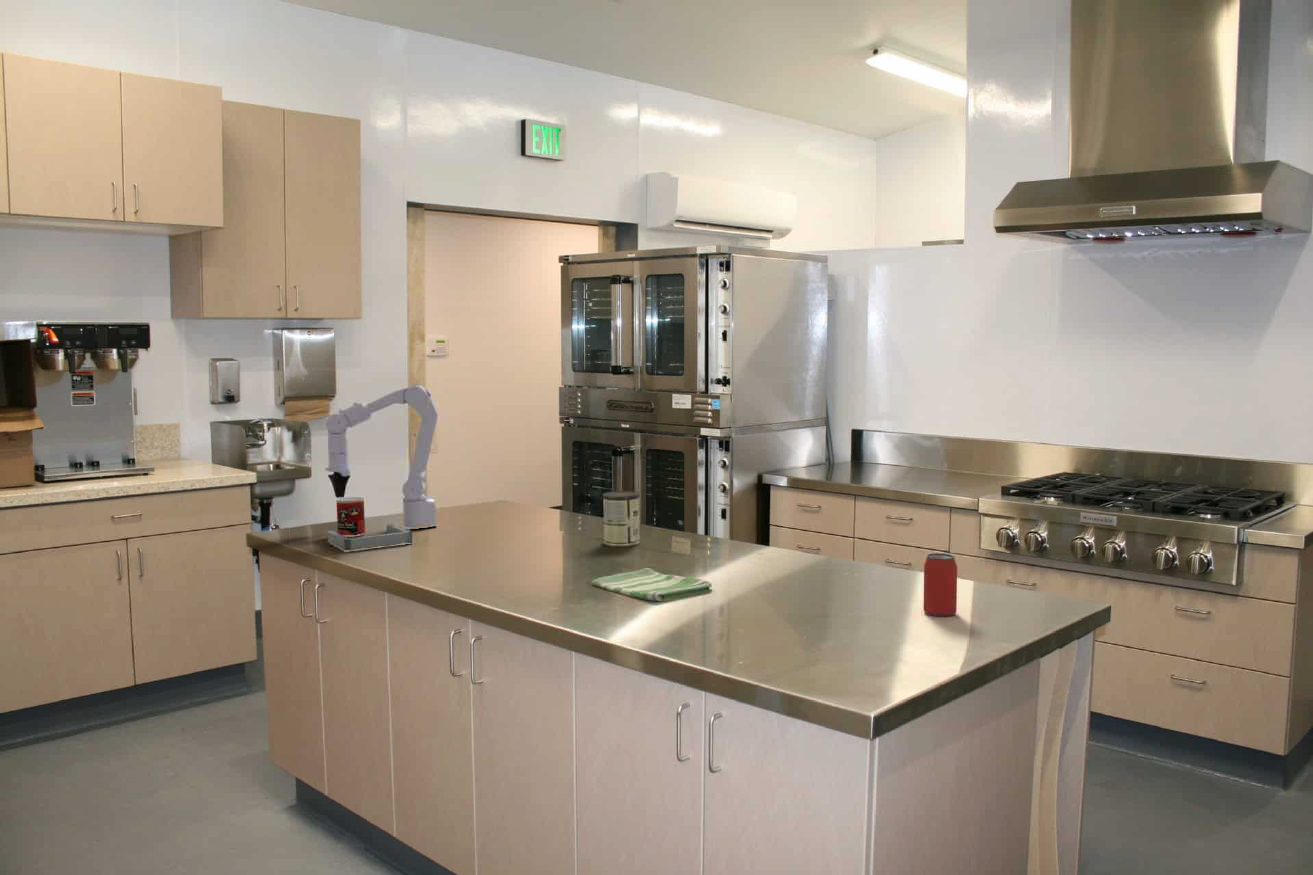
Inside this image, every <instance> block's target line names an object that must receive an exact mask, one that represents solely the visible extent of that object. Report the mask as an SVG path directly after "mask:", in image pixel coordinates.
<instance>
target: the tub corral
mask: <svg viewBox="0 0 1313 875" xmlns="http://www.w3.org/2000/svg"><path fill="white" fill-rule="evenodd" d="M326 532H327V533H326V534H327V535H326V538H327V542H328V541H330V542H331V543H334V544H335V545H336V546H339V547H340V548H342V549H343V550H355V549H362V548H371V547H378V546H390V545H396V544H401V543H412V544H413V531H411V530H406V529H403V528H401V527H399V526H397V525H395V524H393V523H390V524H389V523H388V524H386V534H377V535H368V536H360V537H353V538H347V537H345V536H343V535H340V534H338V532H336V531H335V530H327V531H326Z"/></svg>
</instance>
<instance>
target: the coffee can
mask: <svg viewBox="0 0 1313 875" xmlns="http://www.w3.org/2000/svg"><path fill="white" fill-rule="evenodd" d="M602 498H603V500H602V502H603V504H602V505H603V544H604V543H605V544H604V545H606V546H611V547H627V546H628V547H629V546H635V545H638V544H640V542H641V541H640V493H639V492H637V491H631V490H620V491H619V490H618V491H617V490H616V491H615V490H614V491H609V492H604V493H602Z"/></svg>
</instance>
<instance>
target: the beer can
mask: <svg viewBox="0 0 1313 875" xmlns="http://www.w3.org/2000/svg"><path fill="white" fill-rule="evenodd" d="M955 558H956V557H955V555H953V554H950V553H943V552H942V553H929V554H927V555H926V559H925V561H924V565H923V612H924V613H925V614H927V615H929V616H933V617H941V618H945V617H952V616H954V615H955V614H956V613H957V609H958V608H957V606H958V604H957V600H958V594H957V593H958V565H957V562H956V560H955Z"/></svg>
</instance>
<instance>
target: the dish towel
mask: <svg viewBox="0 0 1313 875" xmlns="http://www.w3.org/2000/svg"><path fill="white" fill-rule="evenodd" d="M590 585H592V586H595V587H597V588H601V589H605V590H608V591H611V592H614V593H617V594H623V595H624V596H629V597H633V598H637V599H641V600H645V601H654V602H667V601H668V602H669V601H672V600H676V599H682V598H686V596H687V597H690V596H689V595H691V596H694V595H695V594H696V595H700V594H704V593H709V591H710V592H713V589H712V586H713V584H712V583H711V581H710V582H709V581H708V580H705V579H700V578H694V577H689V576H679V575H675V574H663V573H660V572H657V571H655V570H653V569H652V568H649V566H648V567H645V568H641V569H639V570H635V571H629V572H622V573H618V574H612V575H607V576H602V577H601V576H600V577H598V578H595V579H593V580H592V581H591V582H590ZM699 593H700V594H699Z"/></svg>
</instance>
